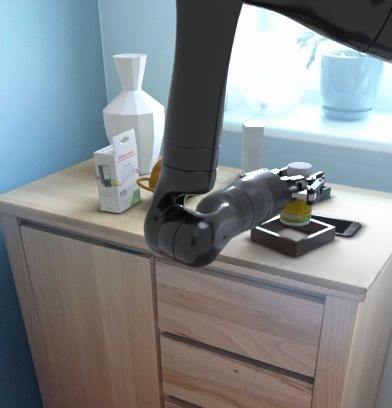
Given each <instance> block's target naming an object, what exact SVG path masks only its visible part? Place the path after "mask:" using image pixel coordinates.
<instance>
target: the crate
mask: <svg viewBox="0 0 392 408" xmlns="http://www.w3.org/2000/svg"><path fill="white" fill-rule="evenodd" d="M289 226H290V225H286V224H284V223H282V222H281V221H280V215H278V216H276V217H274V218H272V219H270V220H269V221H267V222H265V223H263V224H261V225H259V226H258V227H256V228H254V229H251V230H250V238H249V240H251V241H254V242H256V243H259V244H261V245H264V246H266V247H269V248H272V249H273V250H277V251H279V252H281V253H284V254H286V255H289V256H291V257H294V258H298V257H300V256H302V255H305V254H307V253H308V252H311V251H313V250H316V249H318V248H320V247H322V246H325V245H326V244H329V243H331V242H333V241H335V238H336V237H335V230H336V227H334V226H331V225H328V224H325V223H322V222H319V221H316V220H313V219H311V220H310V222H309V223H308V224H306V225H303V226H290V227H289ZM286 228H293V229H296V230H298V231H302V232H304V233H307V234H309V235H308V236H306V237H303V238H300V239H298V240H294V239H292V238H291V237H290V238H289V237H288V236H284V235H281V234H279V233H277V232H279V231H282V230H284V229H286Z"/></svg>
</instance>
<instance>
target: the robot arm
mask: <svg viewBox="0 0 392 408" xmlns="http://www.w3.org/2000/svg"><path fill="white" fill-rule="evenodd" d="M244 5H246V6H250V7H254V8H258V9H262V10H266V11H268V12H272V13H274V14H277V15H280V16H282V17H284V18H286V19H288V20H290V21H292V22H294V23H296V24H297V25H299V26H302V27H303V28H305V29H306V30H309V31H311V32H313V33H314V34H317V35H319V36H321V37H323V38H325V39H327V40H329V41H331V42H333V43H336V44H337V45H340V46H342V47H344V48H347V49H349V50H352V51H354V52H356V53H359V54H362V55H365V56H368V57H370V58H373V59H376V60H379V61H382V62H385V63H388V64H392V0H175V44H174V55H173V56H174V58H173V63H172V64H173V65H172V72H171V78H170V85H169V90H168V96H167V103H166V108H165V109H166V110H165V115H164V119H165V121H164V133H163V138H162V149H161V150H162V151H161V159H162V162H161V172H160V176H159V179H158V182H157V184H156V187H155V190H154V194H153V193H152V197H151V200H150V203H149V206H148V209H147V210H146V213H145V217H144V221H143V235H144V239H145V242H146V245H147V246H148V248H149V249H150V251H152V252H154V253H155V254H158V255H160V256H163V257H165V258H167V259H169V260H172V261H174V262H176V263H179V264H181V265H184V266H186V267H188V268H195V269H196V268H197V269H199V268H203V267H207V266H209V265H211V264H212V263H213V262H214V261H215V260H216V259H217V258H218V257H219V255H220V254H221V253H222V251H223V250H224V249H225V248H226V247H227V246H228V244H229V243H230V242H231V241H232V239H234V238H236V237H238V236H240V235H241V234H243V233H245V232H248V231H251V229H254V228H256V227H258V226H259V225H261V224H263V223H265V222H267V221H269V220H270V219H272V218H274V217H277V216H280V213H281V212H282V211H283V210H284V208H285V207H286V205H287V204H288V203H290V202H295V201H297V200H298V199H304V200H305V201H306V205H309V206H311V205H312V206H314V205H315V204H316V203H317V202H319V201H318V200H319V199H320V198H321V197H322V195H323V187H324V185H325V182H326V175H325V172H324V171H321V170H319V171H318V172H317V171H316V172H315V173H314V174H311V175H310V177H302V176H300V175H299V176H294V177H289V178H288V177H287V176H288V174H287V168H288V165H287V166H285V167H282V168H280V169H277V168H274V169H271V170H269V168H265V167H263V169H260V170H256V171H253V172H249V173H246V174H242V173H241V175H240V177H239V178H238V179H235V180H234V181H232V182H229V184H228V185H226V186H224V187H222V188H220V189H218V190H215V191H213V192H211V191H212V190H213V189H214V187H215V185H216V182H217V178H218V177H217V176H218V167H219V161H220V155H221V146H222V145H221V144H222V138H223V137H222V136H223V129H224V120H225V109H226V102H227V101H226V99H227V90H228V82H229V75H230V68H231V67H230V66H231V61H232V55H233V51H234V45H235V40H236V35H237V31H238V26H239V22H240V18H241V14H242V11H243V7H244ZM296 182H297V183H296ZM306 183H308V186H307V188H306V189H305V184H306ZM208 193H209V194H208ZM187 195H191V196H203V195H205V196H204V197H202V199H200V200H199V201H198V203H197V204H196V206H195V210H194V209H191V208H188V207H185V203H186V199H187V198H188V197H187ZM186 197H187V198H186Z"/></svg>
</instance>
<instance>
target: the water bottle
mask: <svg viewBox="0 0 392 408" xmlns="http://www.w3.org/2000/svg"><path fill="white" fill-rule="evenodd" d="M161 162H162V158H160V159H159V160H157V162H156V164H155V165H154V167H153V169H152V172H151V173H150V177H148V176H147V177H146V176H145V177H144V176H143V177H139V179H137V184H138V186H140V189H143V190H146V191H147V192H150V193H152V195H153V194H154V190H155V187H156V184H157V182H158V179H159V176H160V172H161ZM145 181H146V182H148V186H146V185H144V184H143V183H141V182H145ZM190 196H191V197H192V195H187V197H186V199H187V198H188V197H190Z"/></svg>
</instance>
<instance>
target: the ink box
mask: <svg viewBox="0 0 392 408" xmlns="http://www.w3.org/2000/svg"><path fill="white" fill-rule="evenodd" d="M123 138H128V141H127V142H125V143H121V142H120V141H121V140H123ZM92 153H93V160H94V167H95V176H96V184H97V191H98V192H97V193H98V200H99V209H100V211H103V212H109V213H115V214H121V213H123V212H125V211H126V210H128V209H130V208H132V206H135V205H137V204H138V203H139V202H141V201H142V199H141V198H142V197H141V187H140V186H138V184H137V179H139V178H140V174H139V172H138V159H137V146H136V141H135V133H134V129H131V130H129V131H126V132H124V133H121V134H119V135H117V136H115V137H113V138H112V145H110V144H109V145H108V146H105V147H103V148H101V149H98V150H96V151H94V152H92Z"/></svg>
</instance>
